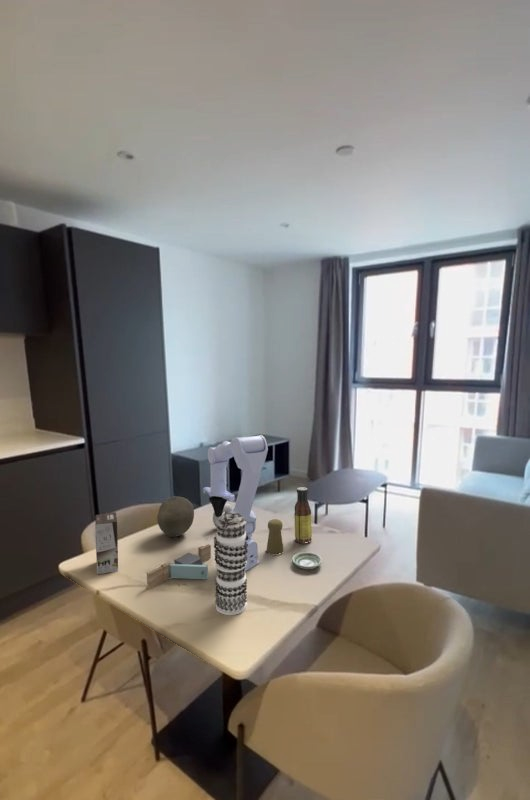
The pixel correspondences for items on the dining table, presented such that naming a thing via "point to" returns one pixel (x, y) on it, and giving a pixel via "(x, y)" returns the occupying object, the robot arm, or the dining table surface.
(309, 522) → the sauce bottle
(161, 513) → the cantaloupe
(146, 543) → the dining table surface
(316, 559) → the saucer
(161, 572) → the tan wooden flat bar
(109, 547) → the coffee box
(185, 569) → the light blue bar
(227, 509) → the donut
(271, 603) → the dining table surface
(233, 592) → the decorative candle
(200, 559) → the doorstop
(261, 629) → the dining table surface
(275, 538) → the cork
